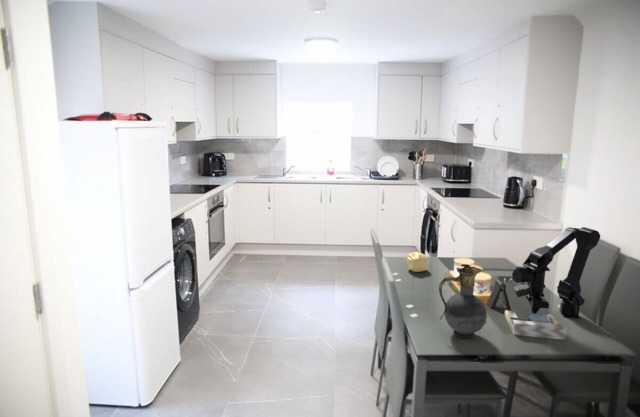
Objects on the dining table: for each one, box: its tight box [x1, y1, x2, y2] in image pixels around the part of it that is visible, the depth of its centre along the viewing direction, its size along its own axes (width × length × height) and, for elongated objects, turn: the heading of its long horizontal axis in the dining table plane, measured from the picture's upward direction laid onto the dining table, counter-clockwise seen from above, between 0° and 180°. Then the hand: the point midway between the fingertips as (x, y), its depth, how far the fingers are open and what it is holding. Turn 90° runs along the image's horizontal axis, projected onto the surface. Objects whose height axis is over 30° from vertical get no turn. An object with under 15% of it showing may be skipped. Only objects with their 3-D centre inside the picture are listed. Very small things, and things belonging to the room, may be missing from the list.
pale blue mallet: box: [510, 312, 550, 323], centre depth 178 cm, size 14×6×5 cm, turn 77°
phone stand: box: [486, 278, 512, 310], centre depth 198 cm, size 9×6×12 cm, turn 85°
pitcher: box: [438, 263, 487, 339], centre depth 170 cm, size 11×19×30 cm, turn 93°
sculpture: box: [406, 251, 429, 273], centre depth 247 cm, size 11×12×11 cm
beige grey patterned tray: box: [504, 309, 568, 341], centre depth 179 cm, size 19×19×5 cm
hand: (533, 314), depth 186 cm, fingers closed
